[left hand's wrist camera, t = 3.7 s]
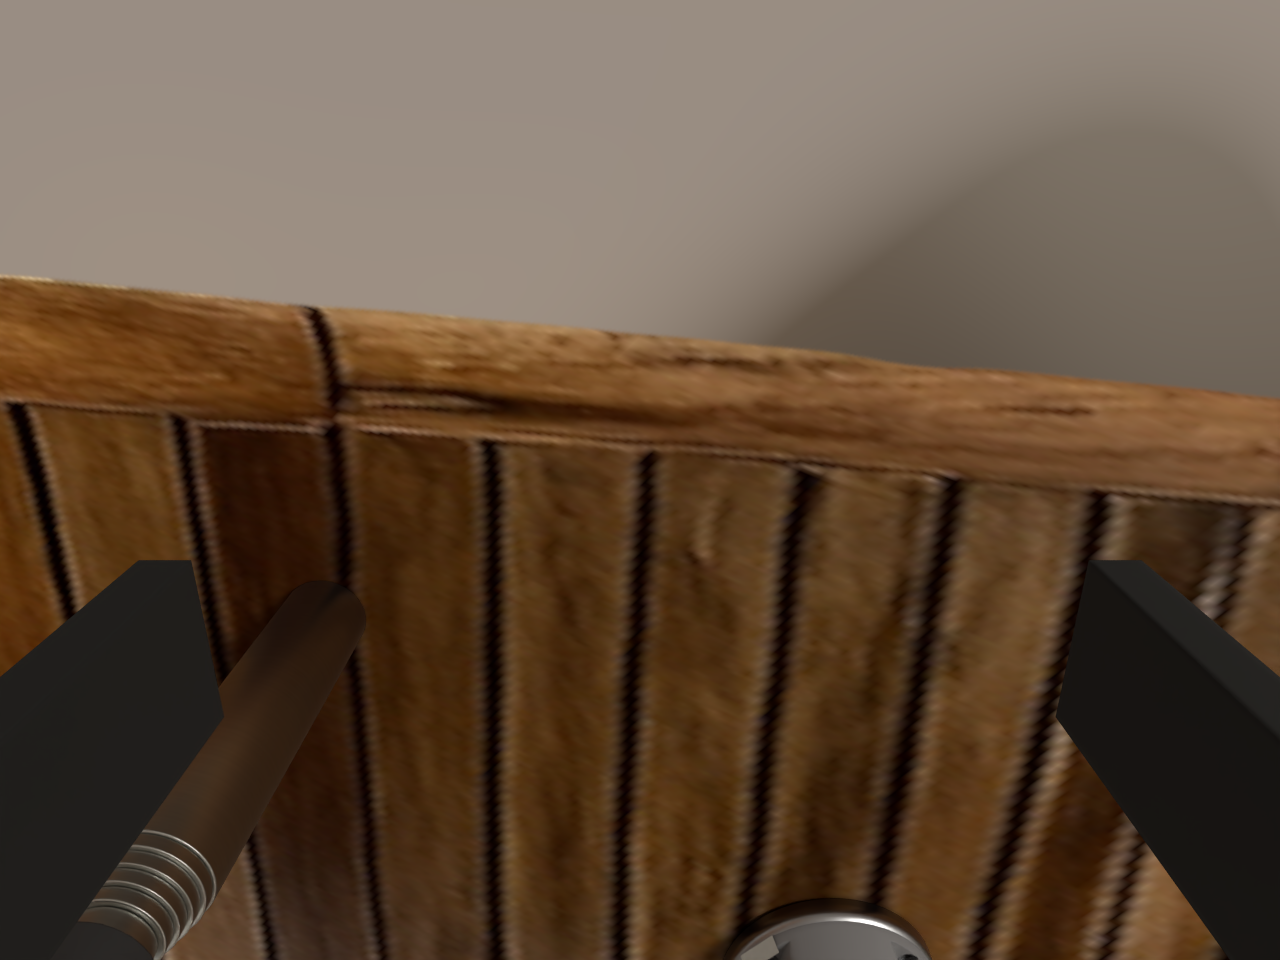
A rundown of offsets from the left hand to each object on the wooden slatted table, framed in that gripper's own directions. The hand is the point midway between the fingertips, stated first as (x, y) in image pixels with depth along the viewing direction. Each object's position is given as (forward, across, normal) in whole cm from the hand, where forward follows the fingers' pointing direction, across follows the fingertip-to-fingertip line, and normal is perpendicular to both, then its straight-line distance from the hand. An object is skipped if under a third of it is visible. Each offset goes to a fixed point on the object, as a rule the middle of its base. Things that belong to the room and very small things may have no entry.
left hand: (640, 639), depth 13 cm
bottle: (+34, +19, +20) cm, 43 cm away
